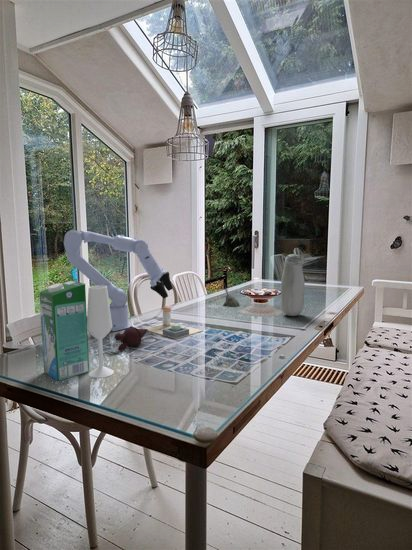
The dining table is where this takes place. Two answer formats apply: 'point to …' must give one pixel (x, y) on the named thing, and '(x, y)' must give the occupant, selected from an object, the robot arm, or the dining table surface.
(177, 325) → the button
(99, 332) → the champagne flute
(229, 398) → the dining table surface
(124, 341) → the dark red figurine
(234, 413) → the dining table surface
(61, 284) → the milk carton
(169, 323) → the marker
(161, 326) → the beige board
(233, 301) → the sword in stone
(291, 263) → the grey bottle
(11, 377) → the dining table surface
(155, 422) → the dining table surface
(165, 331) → the button housing
